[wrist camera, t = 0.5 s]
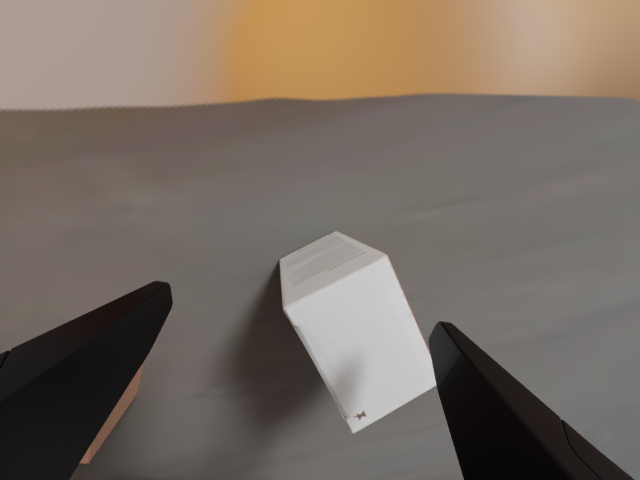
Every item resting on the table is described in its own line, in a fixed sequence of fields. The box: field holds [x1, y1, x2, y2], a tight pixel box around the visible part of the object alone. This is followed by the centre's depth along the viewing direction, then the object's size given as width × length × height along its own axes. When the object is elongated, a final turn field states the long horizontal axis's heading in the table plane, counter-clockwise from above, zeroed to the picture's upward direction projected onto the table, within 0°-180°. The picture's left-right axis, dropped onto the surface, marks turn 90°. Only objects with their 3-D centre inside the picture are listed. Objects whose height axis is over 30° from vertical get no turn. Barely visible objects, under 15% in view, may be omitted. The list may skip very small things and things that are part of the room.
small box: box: [279, 231, 436, 434], centre depth 18 cm, size 8×6×10 cm
